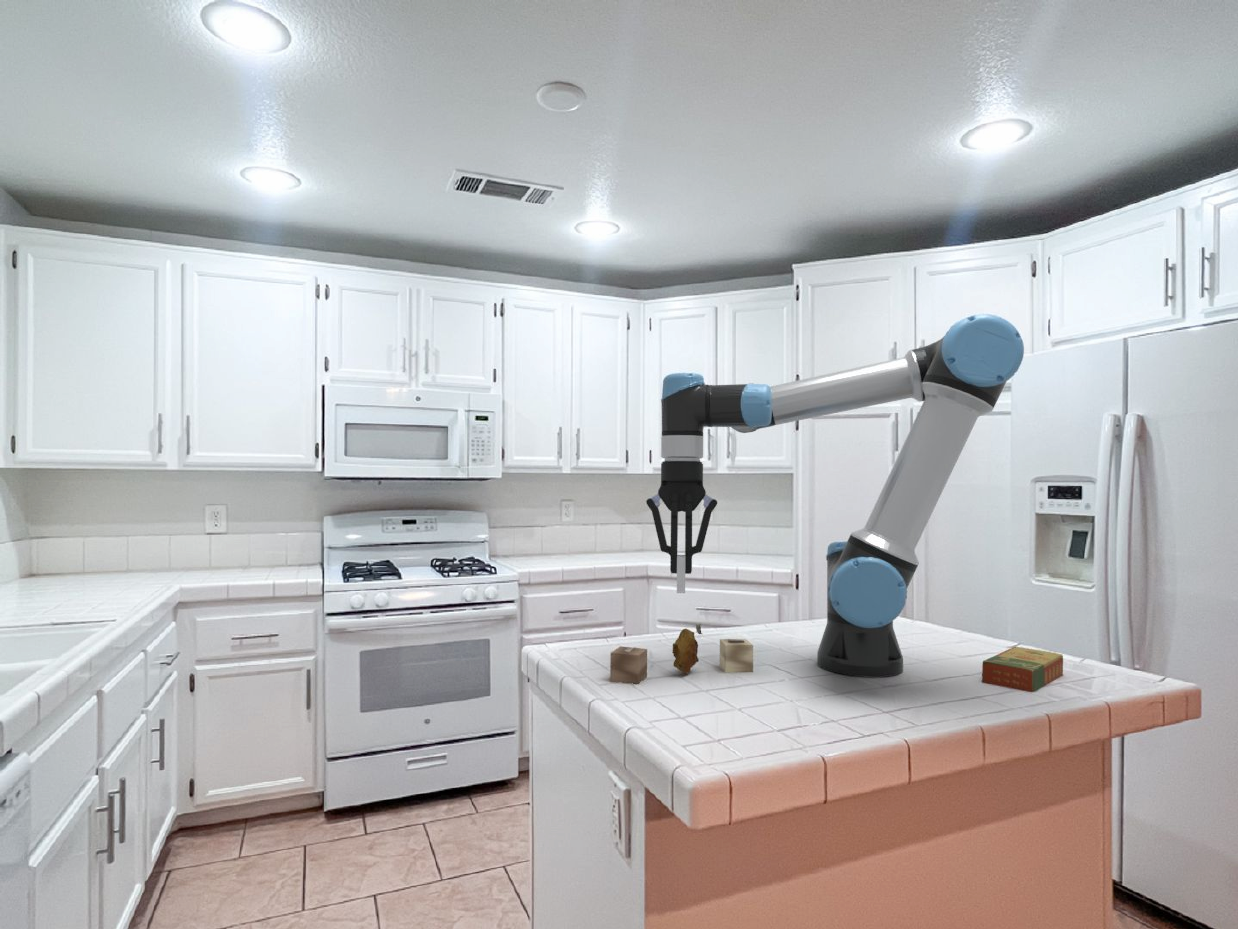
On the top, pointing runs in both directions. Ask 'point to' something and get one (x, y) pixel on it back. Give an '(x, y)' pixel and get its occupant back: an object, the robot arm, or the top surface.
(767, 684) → the top surface
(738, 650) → the block maple
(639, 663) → the block walnut
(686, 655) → the rock
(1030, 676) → the carton
